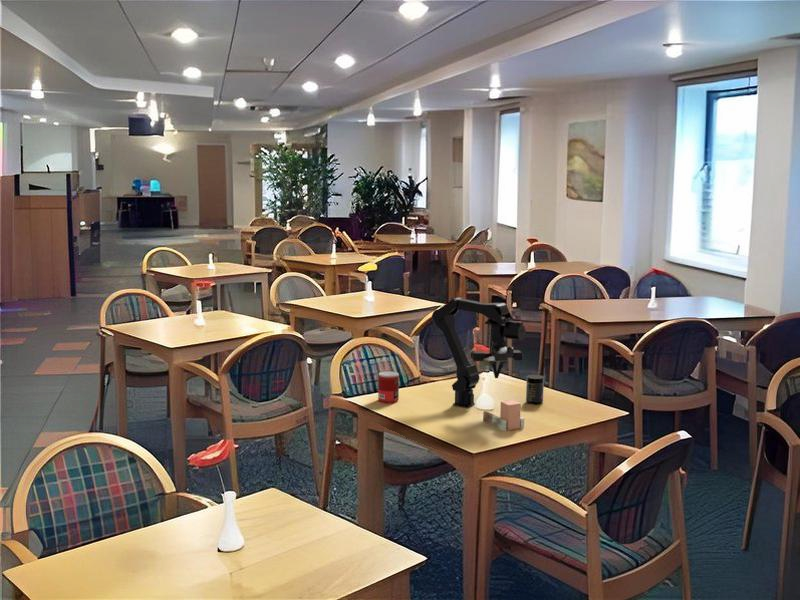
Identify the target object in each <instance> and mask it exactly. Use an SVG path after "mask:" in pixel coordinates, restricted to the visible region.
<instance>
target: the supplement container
mask: <svg viewBox="0 0 800 600" xmlns="http://www.w3.org/2000/svg"><path fill="white" fill-rule="evenodd" d="M544 383H545V376H543V375H539V374H528V375H526V385H525V386H526V387H525V388H526V390H525V391H526V393H525V402H526V403H527V404H528V405H532V404H533V405H534V406H535V405H542V404H543V403H544V389H545V388H544V387H545V385H544Z"/></svg>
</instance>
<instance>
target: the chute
mask: <svg viewBox="0 0 800 600" xmlns="http://www.w3.org/2000/svg"><path fill="white" fill-rule="evenodd" d="M482 415H483V416H482V421H483V422H484V423H486V424H489V425H490V426H492V427H494V428H496V429H498V430H500V431H502V432H504V431H505V432H506V431H507V429H506V422H507V421H506V420H504V419H502V418H500V416H498V415H495V414H493V413H491V412H489V411H487V410H485V411H483V413H482ZM519 429H525V417H523V416H521V415H520V428H519Z"/></svg>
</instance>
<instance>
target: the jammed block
mask: <svg viewBox="0 0 800 600" xmlns="http://www.w3.org/2000/svg"><path fill="white" fill-rule="evenodd" d="M520 416H521V402H518V401H516V400H513V399H510V400H504V401H500V416H499V417H500V418H502V419H504V420H506V421H507V422H506V431H512V430H518V429H521V428H520Z"/></svg>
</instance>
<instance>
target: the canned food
mask: <svg viewBox="0 0 800 600" xmlns="http://www.w3.org/2000/svg"><path fill="white" fill-rule="evenodd" d="M377 379H378V380H377V381H378V382H377V384H378V389H377V392H378V402H380V403H382V404H395V403H398V401H399V399H400V398H399V391H400V389H399V388H400V387H399V386H400V385H399V384H400V373H399V372H397V371H387V370H386V371H381V372H379V373H378V377H377Z"/></svg>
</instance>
